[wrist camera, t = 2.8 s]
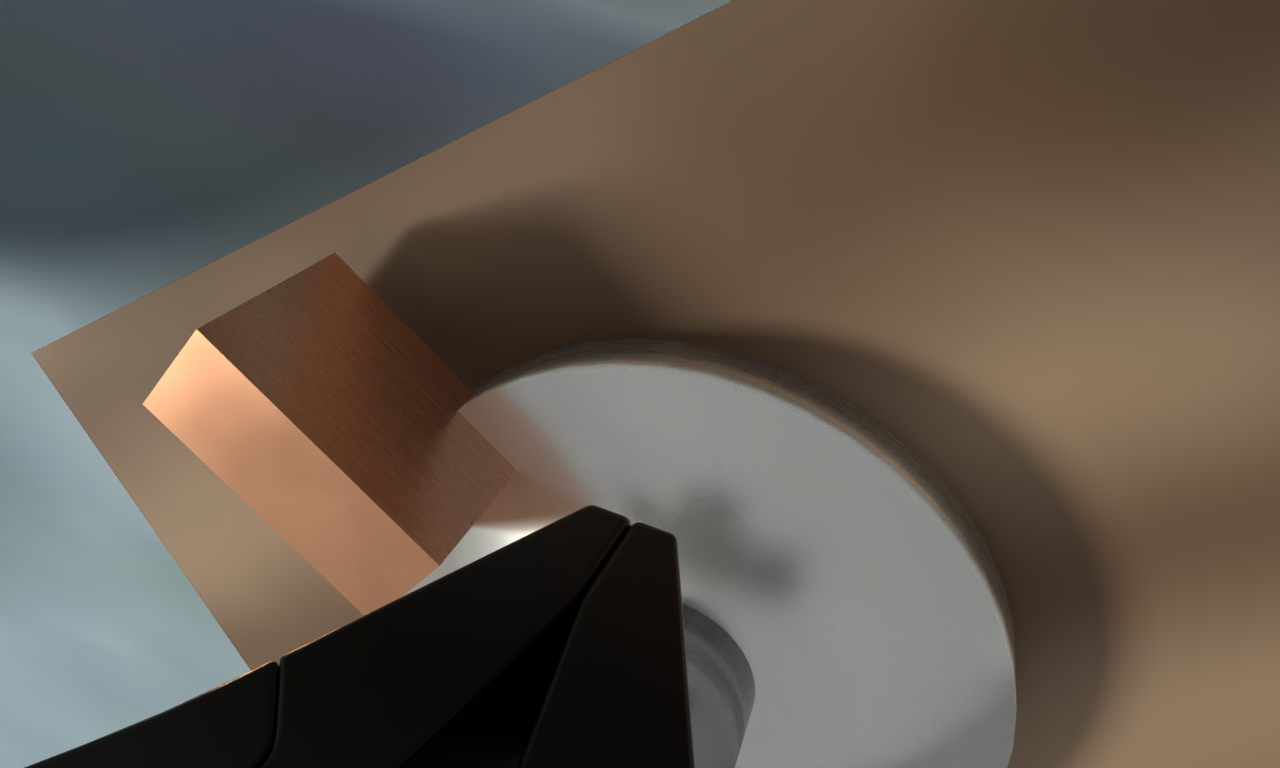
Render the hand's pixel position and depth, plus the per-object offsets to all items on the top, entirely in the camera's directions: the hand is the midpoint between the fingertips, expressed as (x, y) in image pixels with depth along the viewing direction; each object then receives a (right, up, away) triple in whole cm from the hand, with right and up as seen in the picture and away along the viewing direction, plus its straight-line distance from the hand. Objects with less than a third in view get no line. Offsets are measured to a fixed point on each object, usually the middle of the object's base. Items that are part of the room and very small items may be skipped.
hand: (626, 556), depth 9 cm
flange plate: (0, -2, +8) cm, 8 cm away
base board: (+1, -2, +9) cm, 10 cm away
